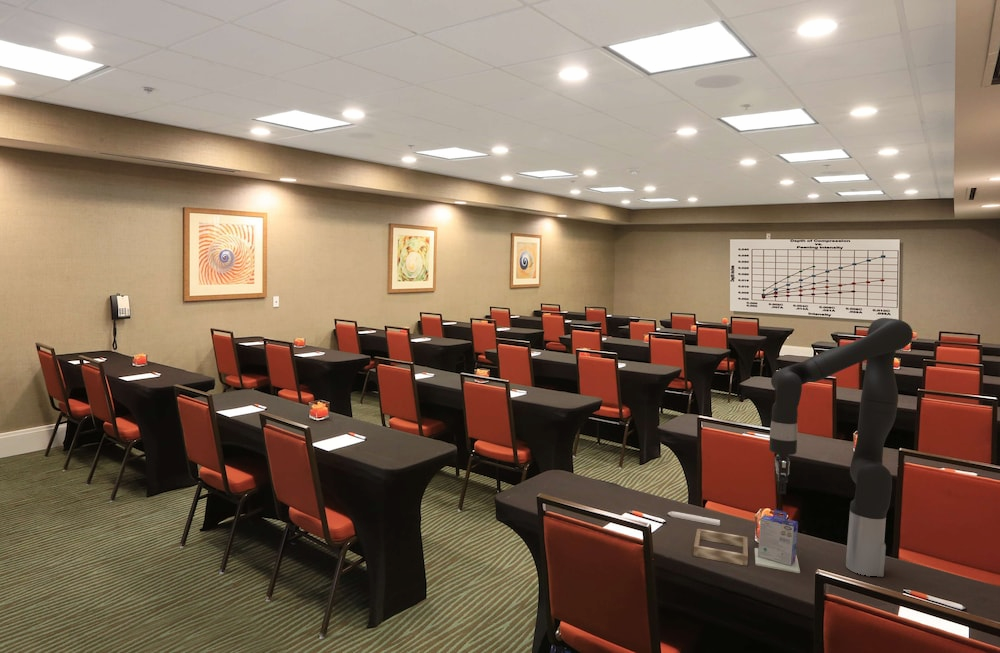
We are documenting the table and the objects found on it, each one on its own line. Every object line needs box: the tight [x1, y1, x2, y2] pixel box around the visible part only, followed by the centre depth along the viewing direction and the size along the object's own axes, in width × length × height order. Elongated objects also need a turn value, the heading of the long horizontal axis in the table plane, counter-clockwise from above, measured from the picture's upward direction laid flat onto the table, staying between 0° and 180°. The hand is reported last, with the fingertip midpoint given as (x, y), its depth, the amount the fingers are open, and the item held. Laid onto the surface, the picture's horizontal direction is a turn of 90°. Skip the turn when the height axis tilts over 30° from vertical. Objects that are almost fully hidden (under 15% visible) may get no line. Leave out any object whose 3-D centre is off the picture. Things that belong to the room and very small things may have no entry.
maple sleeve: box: [692, 528, 749, 567], centre depth 191 cm, size 15×15×3 cm
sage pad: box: [754, 547, 801, 574], centre depth 185 cm, size 12×12×1 cm
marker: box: [667, 511, 721, 527], centre depth 216 cm, size 18×2×2 cm, turn 64°
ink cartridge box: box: [757, 509, 799, 565], centre depth 185 cm, size 10×6×14 cm, turn 52°
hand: (780, 489), depth 184 cm, fingers open, 8 cm apart
